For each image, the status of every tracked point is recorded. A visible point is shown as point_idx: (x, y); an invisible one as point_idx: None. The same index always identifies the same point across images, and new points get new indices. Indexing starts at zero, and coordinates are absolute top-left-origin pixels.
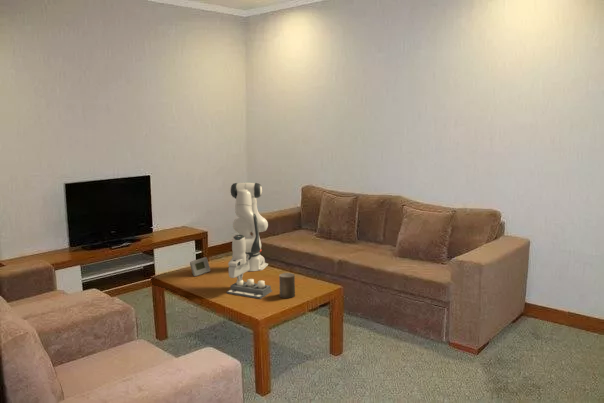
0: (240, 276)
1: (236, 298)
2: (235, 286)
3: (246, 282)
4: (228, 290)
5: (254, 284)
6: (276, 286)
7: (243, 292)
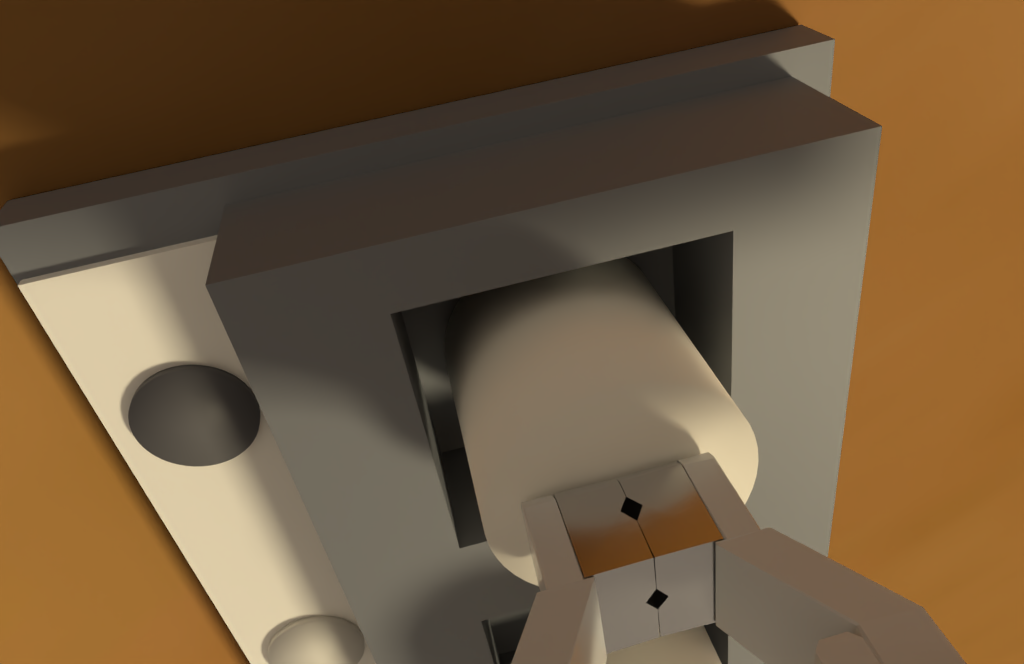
0: (765, 606)
1: (17, 632)
2: (290, 469)
3: (804, 436)
4: (108, 206)
5: (735, 653)
6: (1004, 609)
7: (305, 630)
